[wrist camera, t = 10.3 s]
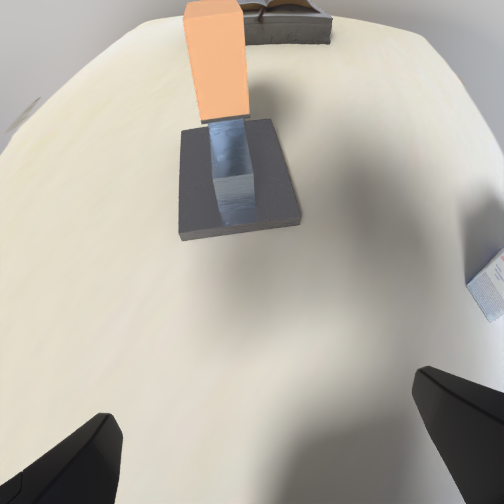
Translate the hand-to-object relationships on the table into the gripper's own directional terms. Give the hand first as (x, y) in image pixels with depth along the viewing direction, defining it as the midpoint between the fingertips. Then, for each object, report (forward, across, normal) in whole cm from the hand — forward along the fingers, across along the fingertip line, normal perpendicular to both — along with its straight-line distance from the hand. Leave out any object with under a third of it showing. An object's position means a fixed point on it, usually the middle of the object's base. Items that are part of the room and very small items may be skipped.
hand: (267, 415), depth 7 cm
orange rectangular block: (+15, 0, -11) cm, 19 cm away
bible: (+56, -10, -37) cm, 68 cm away
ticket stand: (+24, 0, -6) cm, 25 cm away
